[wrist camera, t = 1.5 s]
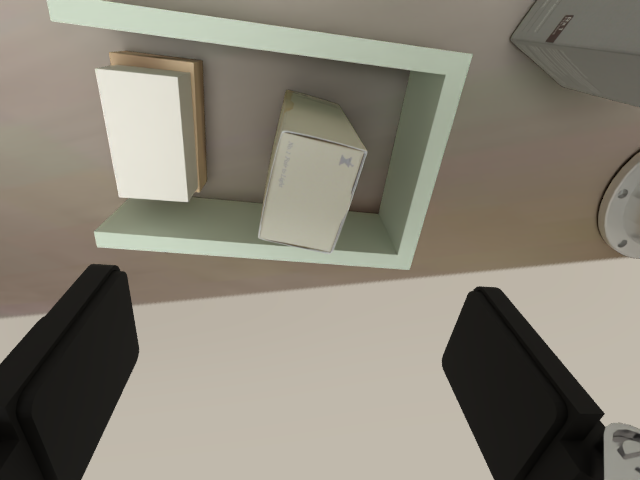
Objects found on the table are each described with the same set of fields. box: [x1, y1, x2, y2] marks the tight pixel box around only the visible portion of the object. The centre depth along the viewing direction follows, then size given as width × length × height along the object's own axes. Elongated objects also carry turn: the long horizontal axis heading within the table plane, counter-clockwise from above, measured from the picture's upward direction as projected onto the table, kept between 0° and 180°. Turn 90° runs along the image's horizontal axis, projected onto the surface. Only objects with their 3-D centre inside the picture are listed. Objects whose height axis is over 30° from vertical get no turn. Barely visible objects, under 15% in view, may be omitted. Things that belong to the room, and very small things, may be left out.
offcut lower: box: [109, 51, 207, 192], centre depth 26 cm, size 5×9×3 cm, turn 173°
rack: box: [47, 0, 473, 270], centre depth 25 cm, size 22×14×7 cm, turn 83°
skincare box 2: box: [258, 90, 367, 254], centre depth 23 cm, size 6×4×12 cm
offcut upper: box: [95, 65, 198, 202], centre depth 24 cm, size 5×8×3 cm, turn 174°
